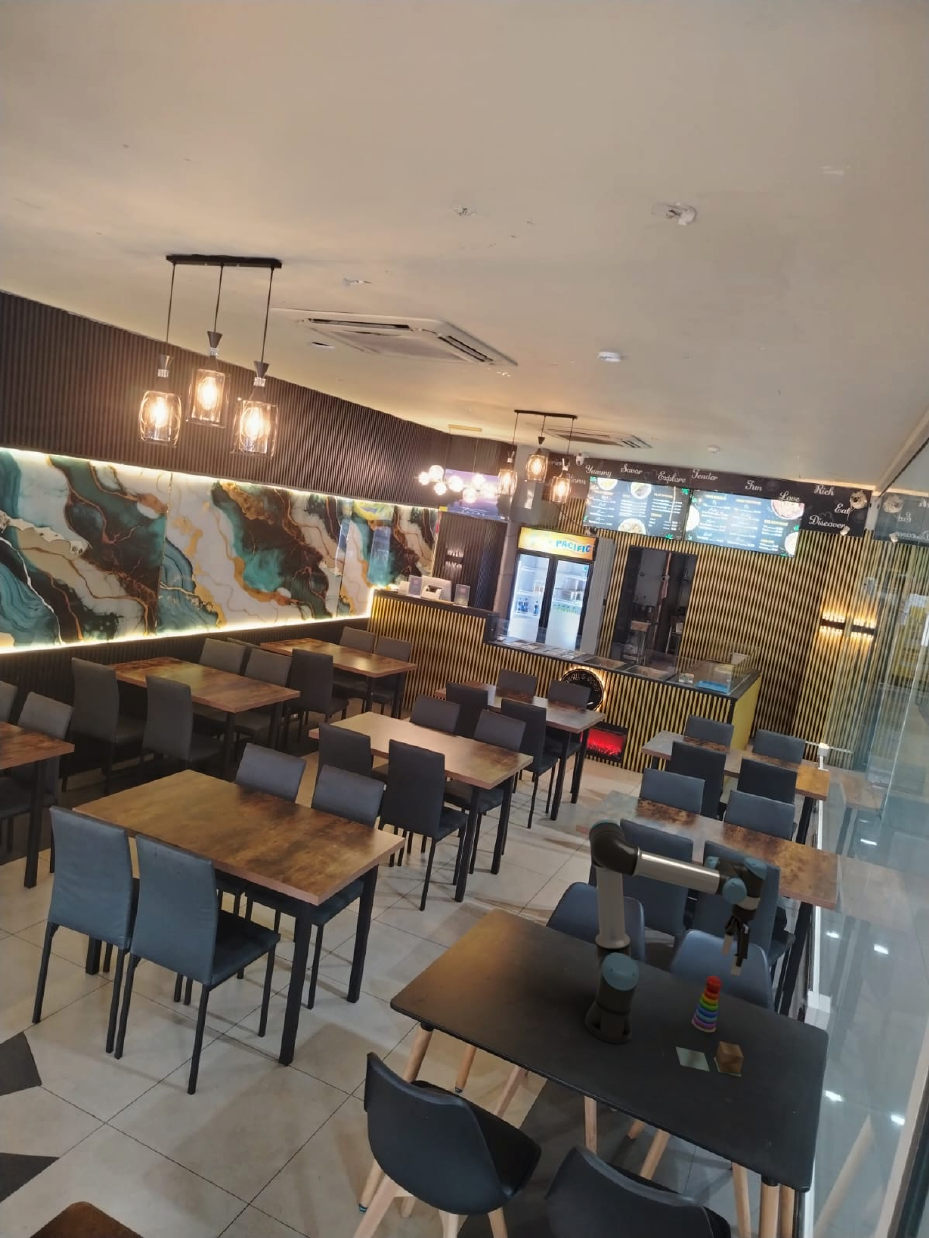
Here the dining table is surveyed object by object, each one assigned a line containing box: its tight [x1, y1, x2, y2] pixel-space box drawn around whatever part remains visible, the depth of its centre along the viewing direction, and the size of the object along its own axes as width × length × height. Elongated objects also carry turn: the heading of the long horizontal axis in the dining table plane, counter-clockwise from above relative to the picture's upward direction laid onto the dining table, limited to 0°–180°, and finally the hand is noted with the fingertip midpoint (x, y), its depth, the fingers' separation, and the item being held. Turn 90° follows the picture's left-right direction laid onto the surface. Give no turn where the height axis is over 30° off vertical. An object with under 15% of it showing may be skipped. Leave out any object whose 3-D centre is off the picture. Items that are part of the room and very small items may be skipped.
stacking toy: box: [691, 975, 723, 1033], centre depth 272 cm, size 8×8×19 cm
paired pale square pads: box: [675, 1046, 742, 1078], centre depth 252 cm, size 24×16×1 cm, turn 85°
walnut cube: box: [715, 1040, 744, 1075], centre depth 251 cm, size 6×6×6 cm
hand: (729, 963), depth 270 cm, fingers open, 13 cm apart
